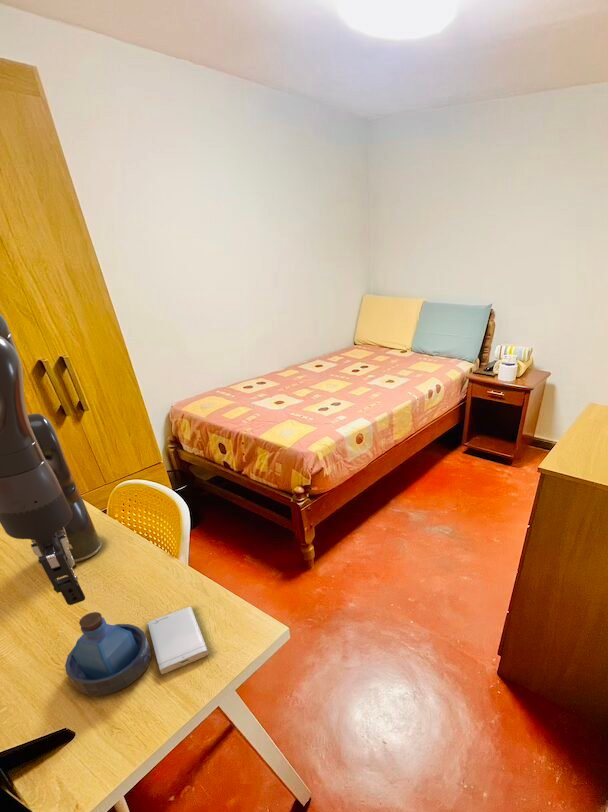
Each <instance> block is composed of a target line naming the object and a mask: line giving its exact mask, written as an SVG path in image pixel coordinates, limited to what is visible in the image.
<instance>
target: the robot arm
mask: <svg viewBox="0 0 608 812" xmlns="http://www.w3.org/2000/svg"><path fill="white" fill-rule="evenodd" d="M25 396H26V395H25V382H24V370H23V364H22V360H21V358H20V355H19V352H18V349H17V346H16V343H15V340H14V339H13V335H12V333H11V330H10V327H9V325H8V322H7V320H6V319H5V318H4V316H3V314H1V313H0V525H1V527H2V528H3V530H4V531H5V533H6V535H7V536H9V537H10V538H13V539H17V540H30V541H31V543H30V547H31V549H32V552H33V554H34V555H35V556H37V558H38V559H37V561H38V563H39V564H40V565H41V567H42V569H43V571H44V573H45V574H46V576H47V578H48V579H49V581H50V583H51V585H52V587H53V591H54V592H55V593H56V594H59V593H61V595H62V597H63V599H64V601H65V602H66V604H67V605H68V606H74V605H76V604H78V603H82V602H84V601H85V600H86V595H85V593H84V591H83V589H82V587H81V585H80V583H79V577H78V575H76V573H75V569H76V568H77V564H76V563H78V562H79V563H80V562H82V561H85V560H87V559H90V558H92V557H93V556H94V555H96V554H97V553H99V552H100V550H101V549H102V546H103V542H102V540H101V539H100V537H99V534H98V532H97V530H96V527H95V525H94V523H93V521H92V518H91V516H90V513H89V511H88V508H87V506H86V504H85V501H84V499H83V497H82V494H81V493H80V490H79V488H78V485H77V483H76V481H75V479H74V476H73V474H72V471H71V468H70V467H69V464H68V461H67V459H66V456H65V453H64V450H63V447H62V444H61V441H60V439H59V436H58V434H57V431H56V429H55V428H54V426H53V424H52V423H51V421H50V420H49V419H48V418H47V417H46V416H45V415H43V414H41V413H37V412H36V413H29V414H28V411H27V405H26V397H25Z"/></svg>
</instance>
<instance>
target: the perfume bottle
mask: <svg viewBox="0 0 608 812" xmlns="http://www.w3.org/2000/svg"><path fill="white" fill-rule="evenodd" d="M78 625H79V626H80V631H81V632H82V634H81V636H80V637H78V639H76V640H77V641H76V643H75V645H74V646H73V648H74V650H73V652H72V655H73V656H74V658H75V660H76V661H77V663H78V665H79V666H80V668H81V670H82V671H83V673H84V675H85V676H88V677H92V678H97V679H102V678H106V677H109V676H111V675H113V674H115V673H118V672H120V671H121V670H122V669H124V668H125V667H127V666H128V665H129V664H130V663H131V662H132V661H133V660H134V659H135V658H136V657H137V656H138V654H139V652H140V651H139V649H138V646H137V644H136V642H135V640H134V637H133V635H132V633H131V632H130V631H128V630H125V629H123V628H120V627H118V626H114V625H115V624H109V623H108V622H107V621H106V619H105V618H104V617H103V616H102V614H101V612H98V611H93V612H89V613H87V614H85V615H83V616H82V617H80V619H79V622H78Z"/></svg>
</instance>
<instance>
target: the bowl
mask: <svg viewBox="0 0 608 812" xmlns="http://www.w3.org/2000/svg"><path fill="white" fill-rule="evenodd" d="M113 625H114V626H118V627H120V628H123V629H125V630H128V631H130V632H131V633H132V635H133V637H134V640H135V642H136V644H137V646H138V649H139V651H140V652H139V654H138V656H137V657H136V658H135V659H134V660H133V661H132V662H131V663H130V664H129V665H128V666H127V667H125V668H124V669H122V670H121V671H120V672H118V673H115V674H113V675H111V676H109V677H106V678H102V679H97V678H92V677H88V676H85V675H84V673H83V671H82V670H81V668H80V666H79V665H78V663H77V661H76V660H75V658H74V656H73V655H72V652H73V650H74V647H73V648H72V649H71V651H70V652H69V654H68V655H67V657H66V661H65V664H64V668H65V673H66V675H67V677H68V679H69V680H70V682H71V684H72V685H73V686H74V688H75V689H76V690H77V691H78V692H79V693H80V694H83V695H86V696H88V697H102V696H106V695H111V694H114V693H117V692H119V691H121V690H123V689H126V688H127V687H129V686H130V685H132V684H133V683H134V682H135V681H137V680H138V679H139V678H141V676H142V675H143V673H145V671H146V670H147V668H148V666H149V665H150V663H151V660H152V648H151V646H150V643H149V641H148V638H147V636H146V633H145V631H143V629H141V628H140V627H139V626H136V625H134V624H130V623H116V624H113Z"/></svg>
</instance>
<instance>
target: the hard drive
mask: <svg viewBox="0 0 608 812" xmlns="http://www.w3.org/2000/svg"><path fill="white" fill-rule="evenodd" d="M147 627H148V631H149V635H150V638H151V642H152V647H153V650H154V654H155V659H156V661H157V666H158V669H159V672H160V674H161V675H165V674H167V673H169V672H172V671H174V670H176V669H179V668H181V667H184V666H185V665H188V664H190V663H193V662H195V661H197V660H200V659H202V658H204V657H207V656H208V655H209V650H208V647H207V644H206V642H205V639H204V636H203V634H202V632H201V629H200V626H199V624H198V620H197V618H196V616H195V613H194V610H193V607H192V606H187V607H185V608H182V609H180V610H177V611H174V612H172V613H169V614H166V615H163V616H161V617H158V618H156V619H153V620H151V621H148V622H147Z"/></svg>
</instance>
